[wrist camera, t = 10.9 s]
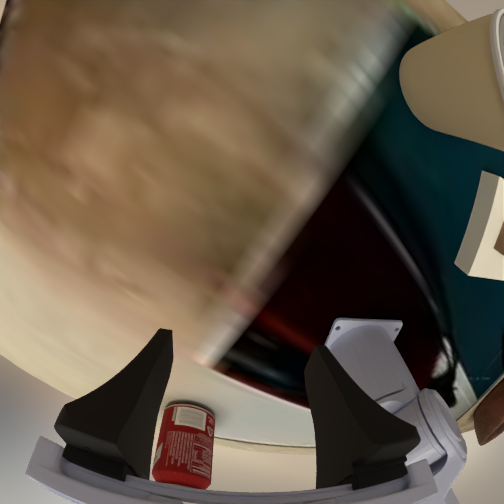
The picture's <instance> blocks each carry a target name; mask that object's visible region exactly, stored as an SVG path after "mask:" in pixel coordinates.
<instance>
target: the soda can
mask: <svg viewBox="0 0 504 504" xmlns="http://www.w3.org/2000/svg"><path fill="white" fill-rule="evenodd" d="M214 428H215V418H214V416H213V415H212V414H211V413H210V412H209V411H207V410H205V409H203V408H201V407H199V406H196V405H192V404H174V405H170V406H168V407H167V408H166V409H165V410H164V414H163V419H162V423H161V428H160V433H159V438H158V443H157V448H156V453H155V458H154V463H153V469H152V475H153V477H154V479H155V481H156V482H160V483H165V484H170V485H175V486H181V487H188V488H195V489H203V490H206V488H208V486H209V485H210V484H211V473H212V457H213V442H214Z"/></svg>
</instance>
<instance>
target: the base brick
mask: <svg viewBox="0 0 504 504" xmlns="http://www.w3.org/2000/svg"><path fill="white" fill-rule="evenodd" d="M503 222H504V179H503V178H501V177H499V176H497V175H494V174H491V173H488V172H485V171H482V174H481V178H480V183H479V187H478V191H477V195H476V199H475V203H474V206H473V210H472V213H471V217H470V220H469V223H468V226H467V229H466V232H465V235H464V238H463V241H462V244H461V247H460V250H459V252H458V255H457V257H456V260H455V263H454V264H455V265H456V266H458V267H459V268H460V269H461V270H462V271H463V272H465V273H466V274H467V275H468V276H476V277H483V278H490V279H497V280H504V256H503V255H502V254H500V253H499V252H498V251H496V250H495V249H494V245H495V243H496V240H497V238H498V235H499V233H500V230H501V228H502V225H503Z"/></svg>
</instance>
